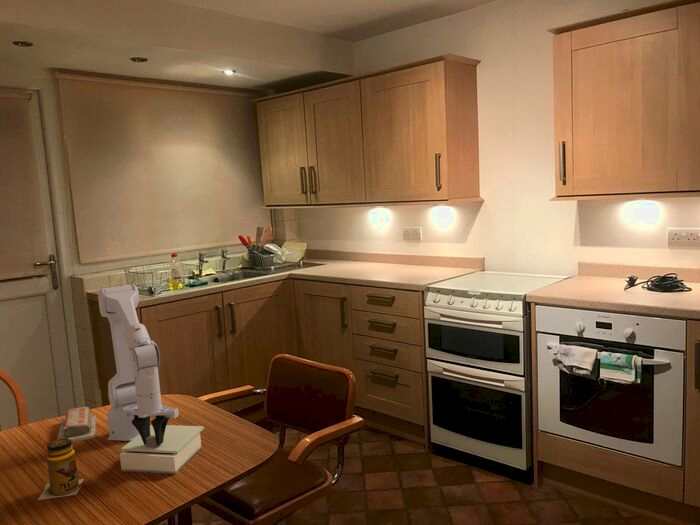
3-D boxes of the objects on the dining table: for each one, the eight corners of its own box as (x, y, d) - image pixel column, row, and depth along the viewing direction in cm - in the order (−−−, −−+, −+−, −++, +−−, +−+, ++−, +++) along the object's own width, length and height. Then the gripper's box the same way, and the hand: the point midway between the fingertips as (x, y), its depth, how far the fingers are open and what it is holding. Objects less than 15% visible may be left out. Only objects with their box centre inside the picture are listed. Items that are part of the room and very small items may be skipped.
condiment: (77, 494, 135) (70, 446, 134) (37, 501, 134) (31, 452, 132) (83, 479, 142) (78, 433, 141) (46, 485, 141) (40, 438, 139)
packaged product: (59, 409, 179) (94, 402, 183) (61, 424, 180) (96, 417, 183) (54, 430, 163) (93, 423, 166) (56, 446, 163) (95, 439, 167)
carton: (121, 471, 146) (119, 454, 145) (151, 445, 159) (149, 430, 159) (175, 474, 143) (174, 456, 142) (201, 448, 156) (200, 432, 156)
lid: (121, 450, 146) (120, 440, 146) (152, 426, 161) (151, 416, 160) (177, 453, 143) (176, 442, 143) (204, 428, 157) (203, 418, 157)
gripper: (112, 397, 143) (118, 449, 145) (166, 398, 140) (171, 451, 141) (129, 387, 149) (134, 436, 151) (180, 388, 146) (185, 439, 148)
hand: (153, 443), depth 147 cm, fingers closed on lid, 3 cm apart
